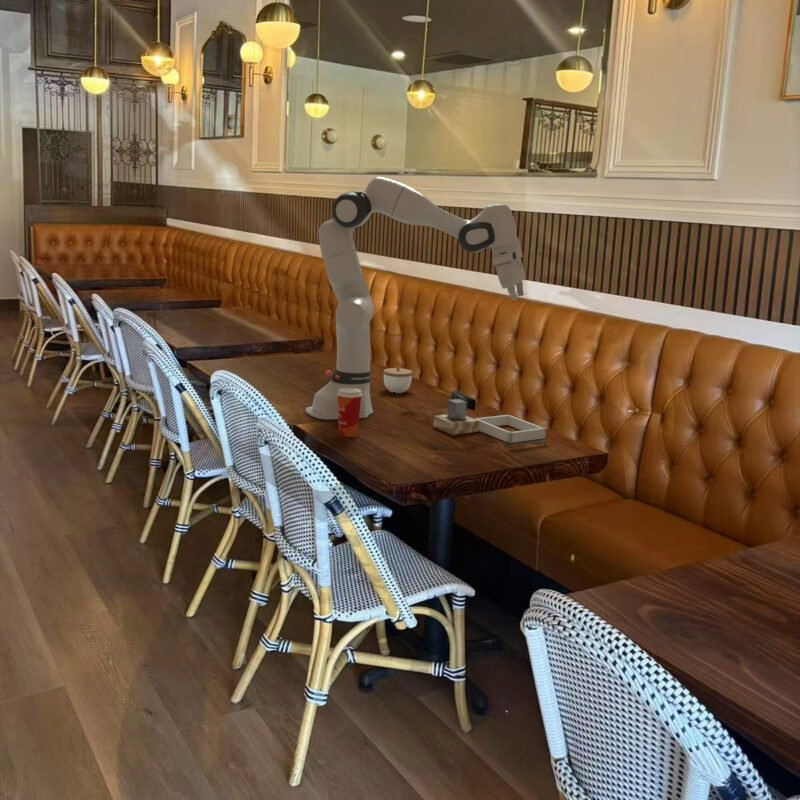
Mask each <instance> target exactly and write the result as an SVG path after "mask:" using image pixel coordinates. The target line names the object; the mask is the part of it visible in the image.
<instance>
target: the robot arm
mask: <svg viewBox="0 0 800 800" xmlns="http://www.w3.org/2000/svg"><path fill="white" fill-rule="evenodd" d="M331 213H332V216H333V218H331V219H329V220H326V221H325V222H323V223H322V224H321V225H320V227H319V228H318V240H319V247H320V252H321V253H320V254H321V256H322V258H323V259H322V260H323V263H324V268H325V271H326V274H327V277H328V281H329V284H330V286H331V288H332V290H333V293H334V294H335V297H336V300H337V303H338V304H337V306H336V309H335V330H336V331H335V334H336V347H337V348H336V368H335V370H334V371H331V370H330V369H329V370H328V369H327V370H326V372H325V375H326V377H328V378H331V380H330V381H329V382H328V383H327V384H326V385H324V386H323V387H322V388H321V389H319V390H318V391H316V392H315V394H314V397H313V401H312V406H309V407H305V413H306V414H307V415H309V416H311V417H313V418H315V419H320V420H327V421H328V420H338V395H337V393H338V390H339V389H341V388H352V389H353V388H356V389H360V390H361V393H362V396H361V405H360V416H359V419H366V418H368V417H369V416H370V415H372V414H373V413H374V410H373V405H372V401H371V390H370V386H371V380H372V371H371V354H372V353H371V349H372V348H371V347H372V345H371V332H370V331H371V329H370V328H371V320H372V319H373V317H374V313H375V306H374V302H373V299H372V296H371V293H370V291H369V288H368V285H367V282H366V279H365V277H364V274H363V271H362V267H361V263H360V260H359V259H360V258H359V256H358V253H357V249H356V245H355V241H354V235H353V234H354V231H355V230H358V229H359V228H360V227H362V226H363V225H365V224H367V223H368V222H369V221H370V220H371V219H372V217H373V214H374V213H378V214H382V215H384V216H387V217H389V218H391V219H393V220H396V221H397V222H401V223H403V224H407V225H412V226H425V227H431V228H434V229H436V230H439V231H441V232H444V233H446V234H448V235H450V236H453V238H454V237H455V238H456V239H457V240H458V244H459V245H460V247H461V248H462V250H464V251H466V252H469V253H478V252H479V253H480V252H483V251H485V250H486V249H488V248H489V247H490V248H491V252H492V259H491V262H492V265H493V266H495V270H496V274H497V277H498V280H499V284H500V286H501V287H502V289H507V293H508V295H509V296H510V299H511V302H515V301H517V300H518V299H519V298H520V297H523V296H524V295H525V293H524V283H523V281H524V280H526V273H525V268H524V265H523V262H522V259H521V258H523V257H524V256H523V252H522V248H521V243H520V240H519V238H518V236H517V226H516V222H515V218H514V215H513V213H512V210H511V208H510V207H509V206H508V205H506V204H504V203H501V204H499V203H498V204H497V203H496V204H489V205H488V204H487V205H485V206H484V207H483V209H482V210H481V211H480V212H479V213H478V214H477V215H476V216H475V217H474V218H472V219H465V218H462V217H460V216H457V215H455V214H454V213H451V212H449V211H447V210H444V209H443V208H441V207H439V206H438V205H436V204H435V203H433V202H432V201H431V200H430V199H429V198H427V197H426V196H425V195H424V194H422V193H421V192H419V191H418V190H416V189H415V188H413V187H410V186H408V185H406V184H405V183H401V182H400V181H396V180H393V179H391V178H386V177H382V176H376V177H374V178H372V179H371V180H370V182H369V183H368V184H367V185H366V188H365V190H364V191H347V192H344V193H342V194H340V195H339V196H337V197H336V198H335V200H334V202H333V203H332V207H331ZM515 287H516V288H515Z"/></svg>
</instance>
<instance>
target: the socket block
mask: <svg viewBox="0 0 800 800" xmlns="http://www.w3.org/2000/svg"><path fill="white" fill-rule="evenodd" d="M447 415H448V413H447V414H439V415H433V424H432V425H433V426H432V427H433V428H435V429H437V430H439V431H442V432H444V433H446V434H449V435H451V436H454V435H455V436H456V435H461V434H470V433H476V432H477V433H478V432H479V430H478V427H479V420H476V419H475V418H473V417H470V416H469V415H466V417H465V420H459V421H453V420H451V419H448V418H447Z"/></svg>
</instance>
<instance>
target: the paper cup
mask: <svg viewBox="0 0 800 800" xmlns="http://www.w3.org/2000/svg"><path fill="white" fill-rule="evenodd" d="M337 395H338V419H337V420H338V435H340V436H339V437H341V436H342V438H345V437H353V438H356V437H358V433H359V424H360V418H359V416H360V405H361V396H362V393H361V390H360V389H356V388H353V389H352V388H341V389H339V390H338V393H337Z"/></svg>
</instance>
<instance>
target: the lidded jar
mask: <svg viewBox="0 0 800 800" xmlns="http://www.w3.org/2000/svg"><path fill="white" fill-rule="evenodd" d="M412 379H413V370H411V369H407V368H400V366H399V365H398V366H396V367H390V368H389V367H388V368H385V369H383V383H384V386H385V388H386V389H387V391H388V392H390V393H393V392H395V393H394V394H402V393H403V392H404V393H405V392H406V391H407V390H408V389H409V388H410V386H411V383H412ZM404 393H403V394H404Z"/></svg>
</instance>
